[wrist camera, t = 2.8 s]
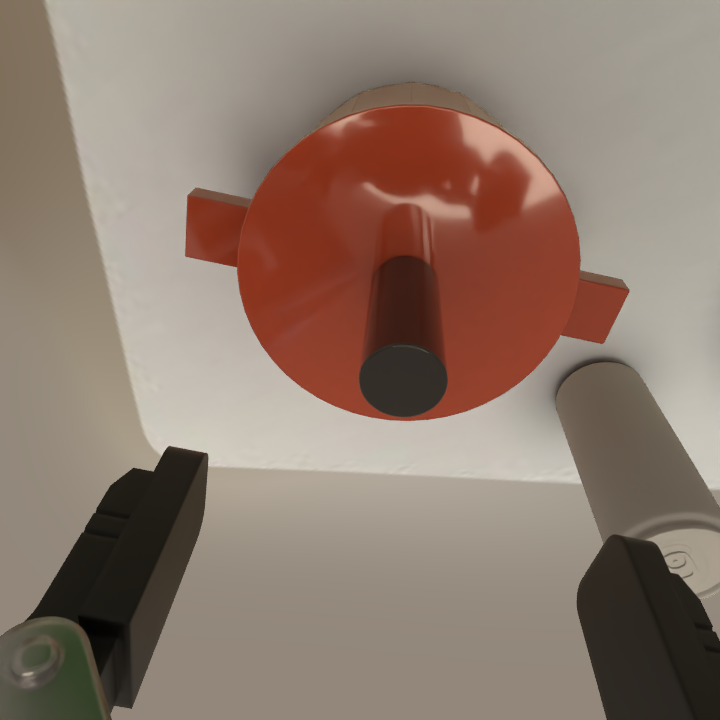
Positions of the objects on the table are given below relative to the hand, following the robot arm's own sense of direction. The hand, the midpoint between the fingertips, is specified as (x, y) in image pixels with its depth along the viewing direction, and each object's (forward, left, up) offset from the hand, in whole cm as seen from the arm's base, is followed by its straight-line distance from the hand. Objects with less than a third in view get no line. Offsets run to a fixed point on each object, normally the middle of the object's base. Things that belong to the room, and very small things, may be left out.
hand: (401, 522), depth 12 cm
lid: (0, 0, -11) cm, 11 cm away
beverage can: (+8, +13, -20) cm, 25 cm away
